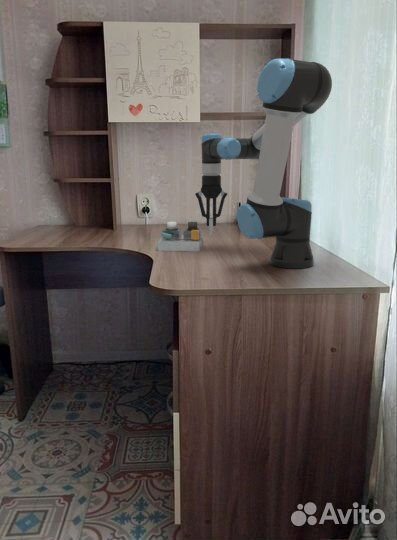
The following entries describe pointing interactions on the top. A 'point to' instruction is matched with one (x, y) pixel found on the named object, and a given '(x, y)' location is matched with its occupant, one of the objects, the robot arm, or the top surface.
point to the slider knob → (195, 234)
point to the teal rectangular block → (166, 235)
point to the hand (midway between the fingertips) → (211, 233)
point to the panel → (180, 241)
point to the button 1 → (172, 225)
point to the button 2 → (192, 225)
